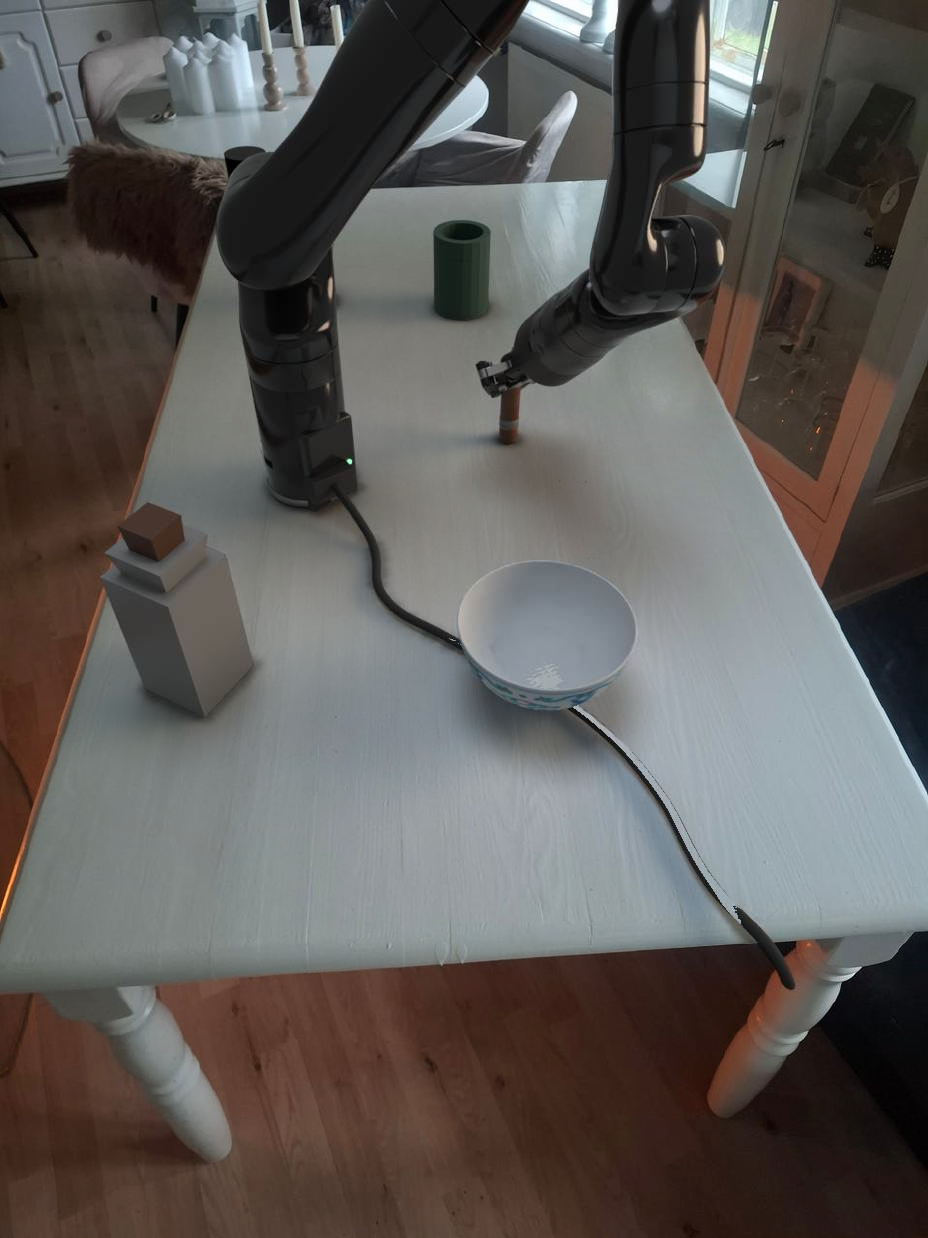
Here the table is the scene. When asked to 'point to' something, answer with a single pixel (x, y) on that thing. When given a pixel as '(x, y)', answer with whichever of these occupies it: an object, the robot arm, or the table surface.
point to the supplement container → (239, 156)
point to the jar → (461, 269)
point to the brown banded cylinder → (509, 415)
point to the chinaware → (546, 632)
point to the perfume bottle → (177, 609)
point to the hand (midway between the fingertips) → (501, 386)
